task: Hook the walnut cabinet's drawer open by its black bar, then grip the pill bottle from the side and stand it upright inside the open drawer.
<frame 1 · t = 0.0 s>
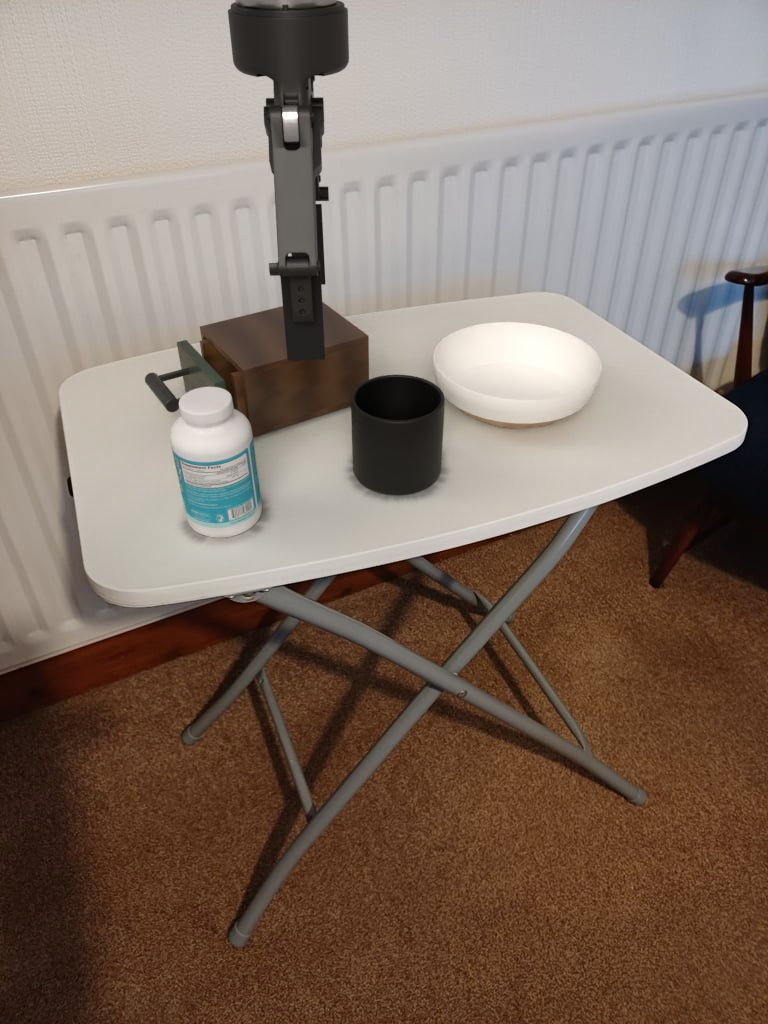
hand: (308, 317, 62), 22 cm above the table, tool pointing down, fingers open, 13 cm apart
cabinet: (288, 395, 96), on the table
bowl: (511, 405, 95), on the table
mug: (404, 466, 85), on the table
drawer: (237, 377, 91), point 4 cm above the table, slide at 2.0 cm
pill bottle: (225, 518, 78), on the table
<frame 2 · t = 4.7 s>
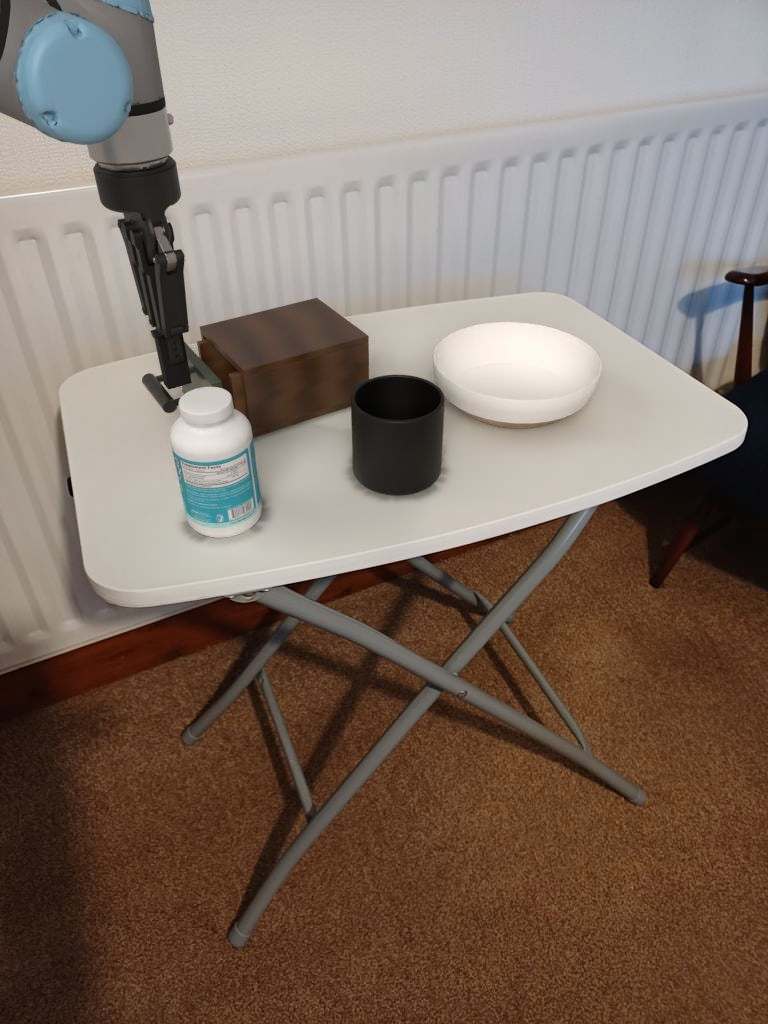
hand: (177, 383, 87), 6 cm above the table, tool pointing down, fingers closed
drawer: (235, 378, 91), point 4 cm above the table, slide at 2.4 cm, touching gripper
everything else where it was.
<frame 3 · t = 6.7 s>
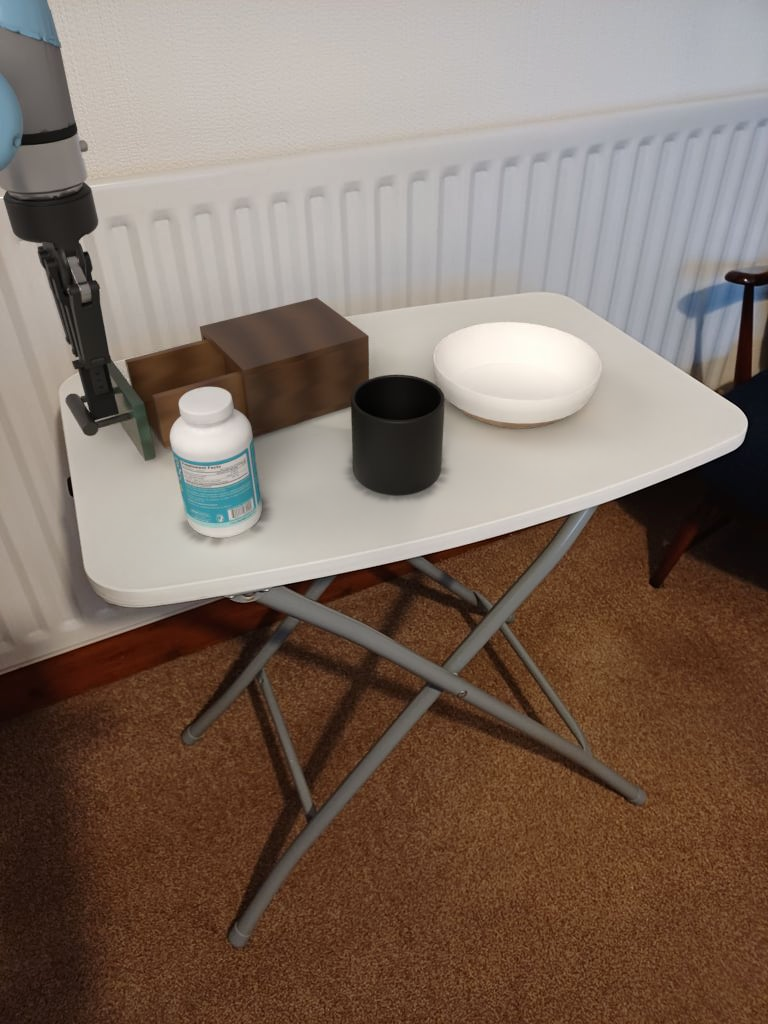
hand: (104, 413, 85), 4 cm above the table, tool pointing down, fingers closed
drawer: (164, 398, 87), point 4 cm above the table, slide at 10.8 cm, touching gripper
everything else where it was.
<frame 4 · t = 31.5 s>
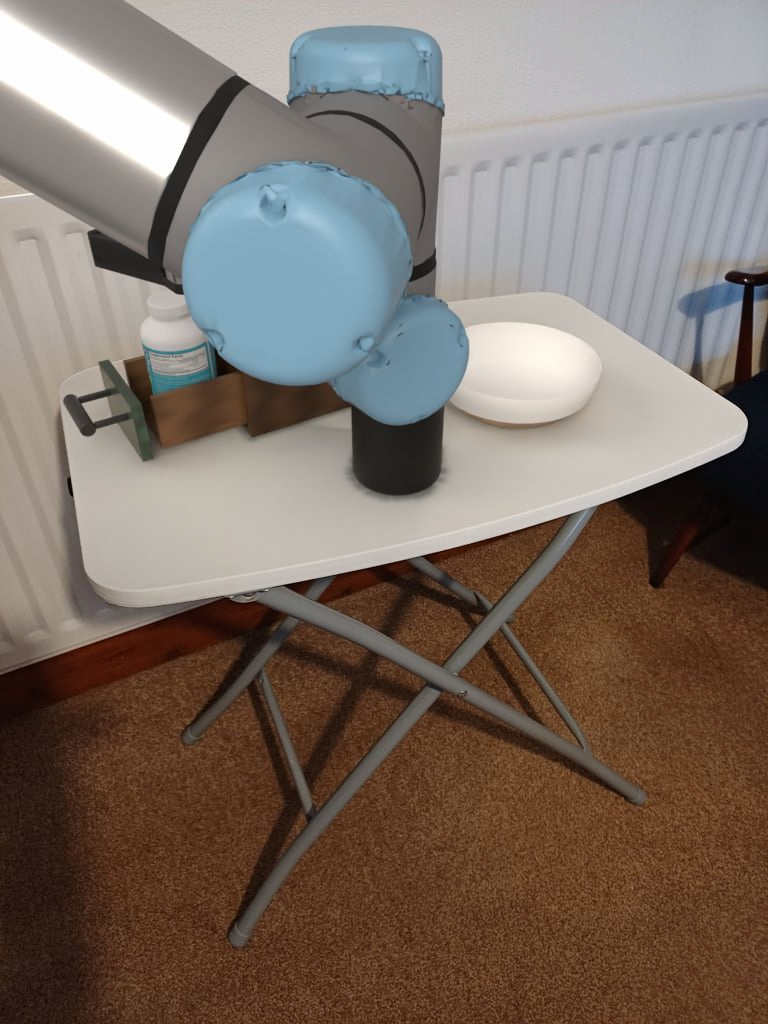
hand: (183, 198, 67), 28 cm above the table, tool horizontal, fingers open, 13 cm apart
drawer: (162, 399, 87), point 4 cm above the table, slide at 11.1 cm, touching pill bottle
pill bottle: (190, 411, 90), point 2 cm above the table, touching drawer
everything else where it was.
at the end: drawer slide at 11.1 cm; pill bottle inside the target area in the drawer (0.4 cm from its centre), point 1.8 cm above the cabinet's base; pill bottle tilted 0° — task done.
